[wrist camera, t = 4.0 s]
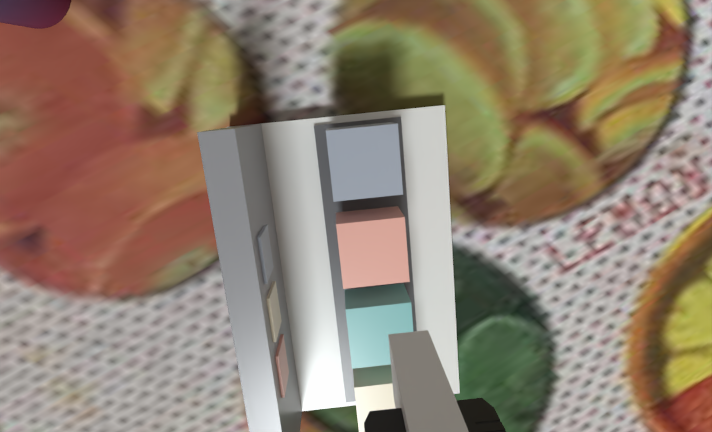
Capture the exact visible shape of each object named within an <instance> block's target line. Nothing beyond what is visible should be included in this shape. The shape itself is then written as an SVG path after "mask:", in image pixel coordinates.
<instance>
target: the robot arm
mask: <svg viewBox="0 0 712 432" xmlns="http://www.w3.org/2000/svg"><path fill="white" fill-rule="evenodd" d="M388 338H389V349H390V360H391V371H392V383H393V394H394V402H395V407H396V408H395V409H385V410H376V411H370V412H369V414H368V416H367V418H366V420H365V422H364V429H365V432H505V428H504V426H503V425H502V423H501V422H500V419H499V417H498V415H497V413H496V411H495V409H494V407H492V406H491V405H490V404H489V403H487V402H486V401H485V400H484V399H482V398H477V399H467V400H458V401H456V399H455V396H454V394H453V391H452V389H451V386H450V384H449V381H448V379H447V376H446V374H445V371H444V369H443V366H442V364H441V361H440V359H439V356H438V354H437V351H436V349H435V346H434V344H433V341H432V339H431V336H430V334H429V331H428V330H425V331H415V332H406V333H396V334H388Z"/></svg>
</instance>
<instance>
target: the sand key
mask: <svg viewBox="0 0 712 432" xmlns="http://www.w3.org/2000/svg"><path fill="white" fill-rule="evenodd" d="M353 378H354V391H355V400H356V409H357V418H358V427H359V432H365V429H364V422H365V420H366V418H367V416H368V414H369V412H370V411H376V410H385V409H395V408H396V407H395V402H394V394H393V383H392V371H391V364H390V365H381V366H372V367H364V368H355V369H353Z"/></svg>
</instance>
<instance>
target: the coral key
mask: <svg viewBox="0 0 712 432" xmlns="http://www.w3.org/2000/svg"><path fill="white" fill-rule="evenodd" d="M336 229H337V238H338V247H339V256H340V265H341V274H342V283H343V289H348V288H357V287H366V286H375V285H385V284H394V283H403V282H410V279H409V266H408V252H407V239H406V226H405V217H404V215H403V213H402V212H401V210H400V209H399V207H398V206H394V207H384V208H375V209H365V210H356V211H346V212H337V213H336Z"/></svg>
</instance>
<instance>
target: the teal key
mask: <svg viewBox="0 0 712 432" xmlns="http://www.w3.org/2000/svg"><path fill="white" fill-rule="evenodd" d="M345 310H346V319H347V328H348V337H349V346H350V355H351V364H352V369H355V368H364V367H372V366H381V365H390V364H391V360H390V349H389V338H388V334H396V333H406V332H413V319H412V306H411V300H410V298H409V295H408V293H407V290H406V288H405V285H404V284H394V285H385V286H376V287H367V288H357V289H348V290H345Z"/></svg>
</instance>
